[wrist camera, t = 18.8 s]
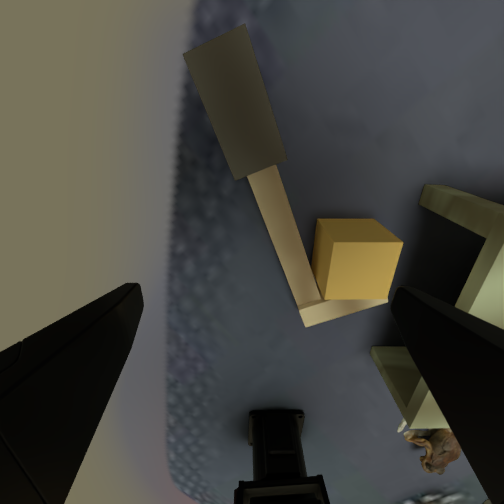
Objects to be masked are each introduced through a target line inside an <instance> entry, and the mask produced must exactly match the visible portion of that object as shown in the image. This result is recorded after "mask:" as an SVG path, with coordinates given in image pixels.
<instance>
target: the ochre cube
mask: <svg viewBox="0 0 504 504" xmlns="http://www.w3.org/2000/svg"><path fill="white" fill-rule="evenodd" d="M402 246H403V242H402V241H401V240H400V239H399V238H397V237H396V236H395V235H394V234H392V233H391V232H390V231H389V230H387V229H386V228H385V227H384V226H382V225H381V224H380V223H379V222H377V221H376V220H375V219H317V224H316V232H315V239H314V247H313V255H312V263H311V270H312V272H313V274H314V277H315V279H316V281H317V284H318V286H319V288H320V290H321V293H322V295H323V297H324V300H350V299H387V297H388V293H389V290H390V286H391V283H392V280H393V276H394V273H395V269H396V266H397V263H398V259H399V256H400V253H401V249H402Z"/></svg>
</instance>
